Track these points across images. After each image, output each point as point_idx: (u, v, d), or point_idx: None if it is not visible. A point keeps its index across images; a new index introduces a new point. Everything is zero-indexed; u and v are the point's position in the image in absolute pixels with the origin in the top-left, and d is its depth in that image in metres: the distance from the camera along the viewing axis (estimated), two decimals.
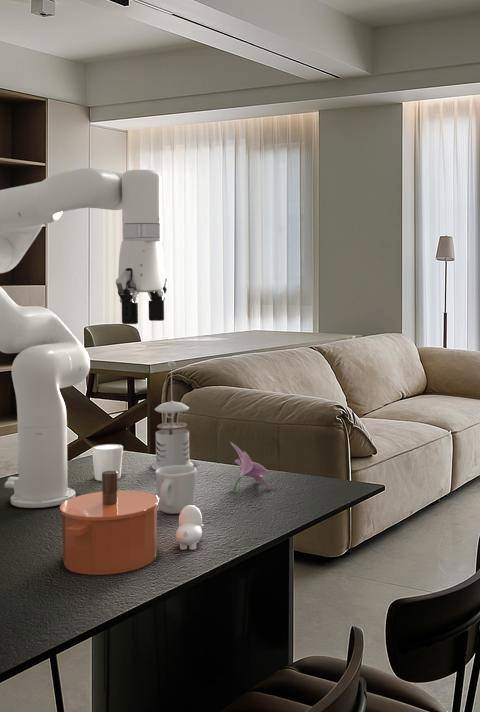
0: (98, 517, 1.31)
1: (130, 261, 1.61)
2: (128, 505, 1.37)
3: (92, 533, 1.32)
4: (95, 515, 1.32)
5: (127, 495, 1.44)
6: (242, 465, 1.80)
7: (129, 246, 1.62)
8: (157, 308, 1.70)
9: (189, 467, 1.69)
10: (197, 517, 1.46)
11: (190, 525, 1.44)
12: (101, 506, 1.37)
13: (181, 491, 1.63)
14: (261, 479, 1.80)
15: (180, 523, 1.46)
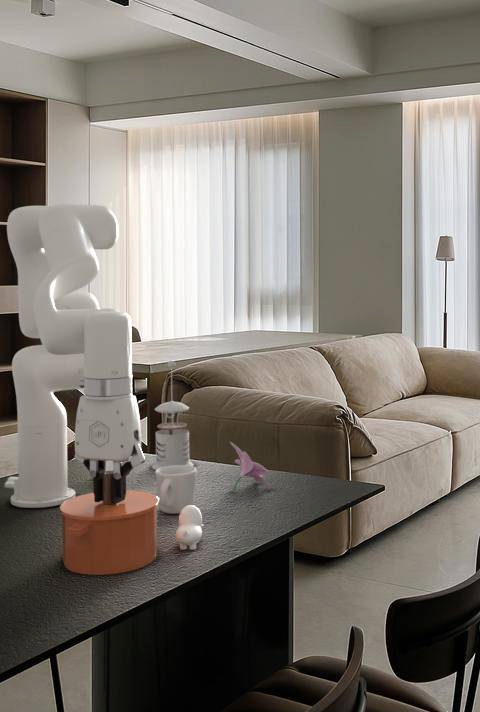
0: (98, 517, 1.31)
1: (136, 421, 1.38)
2: (128, 505, 1.37)
3: (92, 533, 1.32)
4: (95, 515, 1.32)
5: (127, 495, 1.44)
6: (242, 465, 1.80)
7: (133, 404, 1.37)
8: None
9: (189, 467, 1.69)
10: (197, 517, 1.46)
11: (190, 525, 1.44)
12: (101, 506, 1.37)
13: (181, 491, 1.63)
14: (261, 479, 1.80)
15: (180, 523, 1.46)
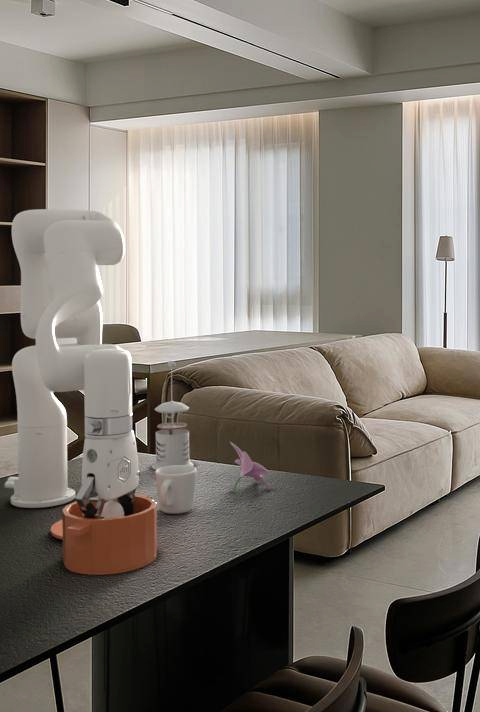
0: None
1: None
2: None
3: (92, 533, 1.32)
4: None
5: None
6: (242, 465, 1.80)
7: None
8: None
9: (189, 467, 1.69)
10: (118, 513, 1.40)
11: None
12: None
13: (181, 491, 1.63)
14: (261, 479, 1.80)
15: None
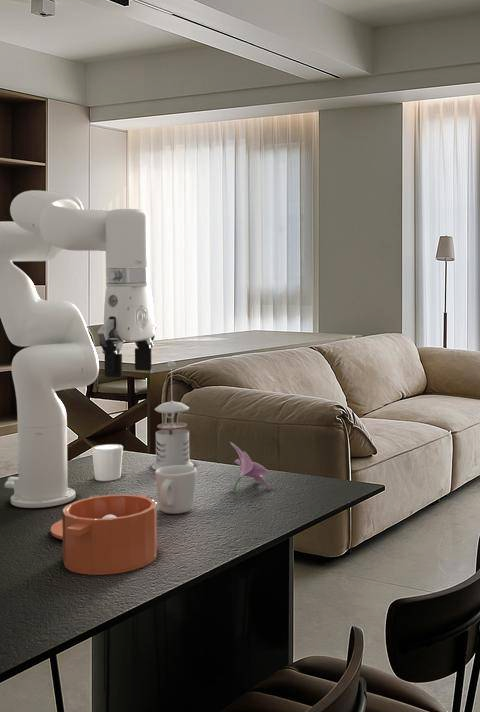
0: None
1: None
2: None
3: (92, 533, 1.32)
4: None
5: None
6: (242, 465, 1.80)
7: None
8: None
9: (189, 467, 1.69)
10: None
11: None
12: None
13: (181, 491, 1.63)
14: (261, 479, 1.80)
15: None
